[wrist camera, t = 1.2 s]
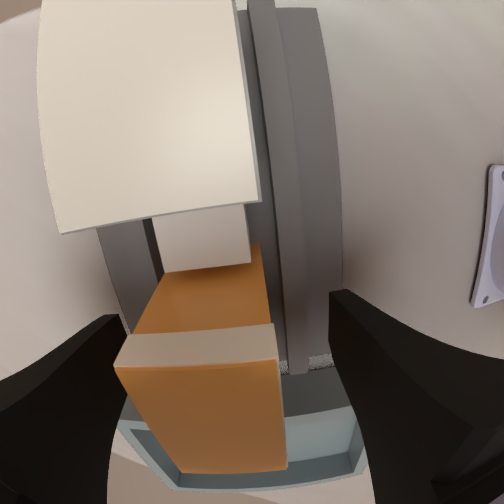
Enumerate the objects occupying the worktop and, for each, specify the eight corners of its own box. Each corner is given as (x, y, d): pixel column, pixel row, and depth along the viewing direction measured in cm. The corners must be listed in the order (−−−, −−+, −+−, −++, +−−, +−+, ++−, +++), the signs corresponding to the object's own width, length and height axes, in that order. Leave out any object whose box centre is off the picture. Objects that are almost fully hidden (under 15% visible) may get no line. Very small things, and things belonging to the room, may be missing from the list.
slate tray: (375, 357, 14) (394, 394, 11) (354, 445, 17) (362, 473, 15) (124, 381, 14) (109, 418, 11) (175, 461, 18) (171, 489, 15)
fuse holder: (310, 18, 8) (335, -24, 5) (333, 338, 13) (354, 390, 10) (84, 61, 8) (34, 43, 5) (151, 356, 13) (133, 408, 10)
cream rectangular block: (234, 36, 8) (222, -77, 2) (251, 165, 9) (263, 203, 4) (144, 55, 8) (43, -15, 2) (160, 179, 9) (57, 236, 4)
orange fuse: (260, 240, 10) (279, 360, 5) (272, 343, 12) (288, 470, 6) (174, 251, 10) (111, 368, 5) (200, 349, 12) (180, 473, 6)
